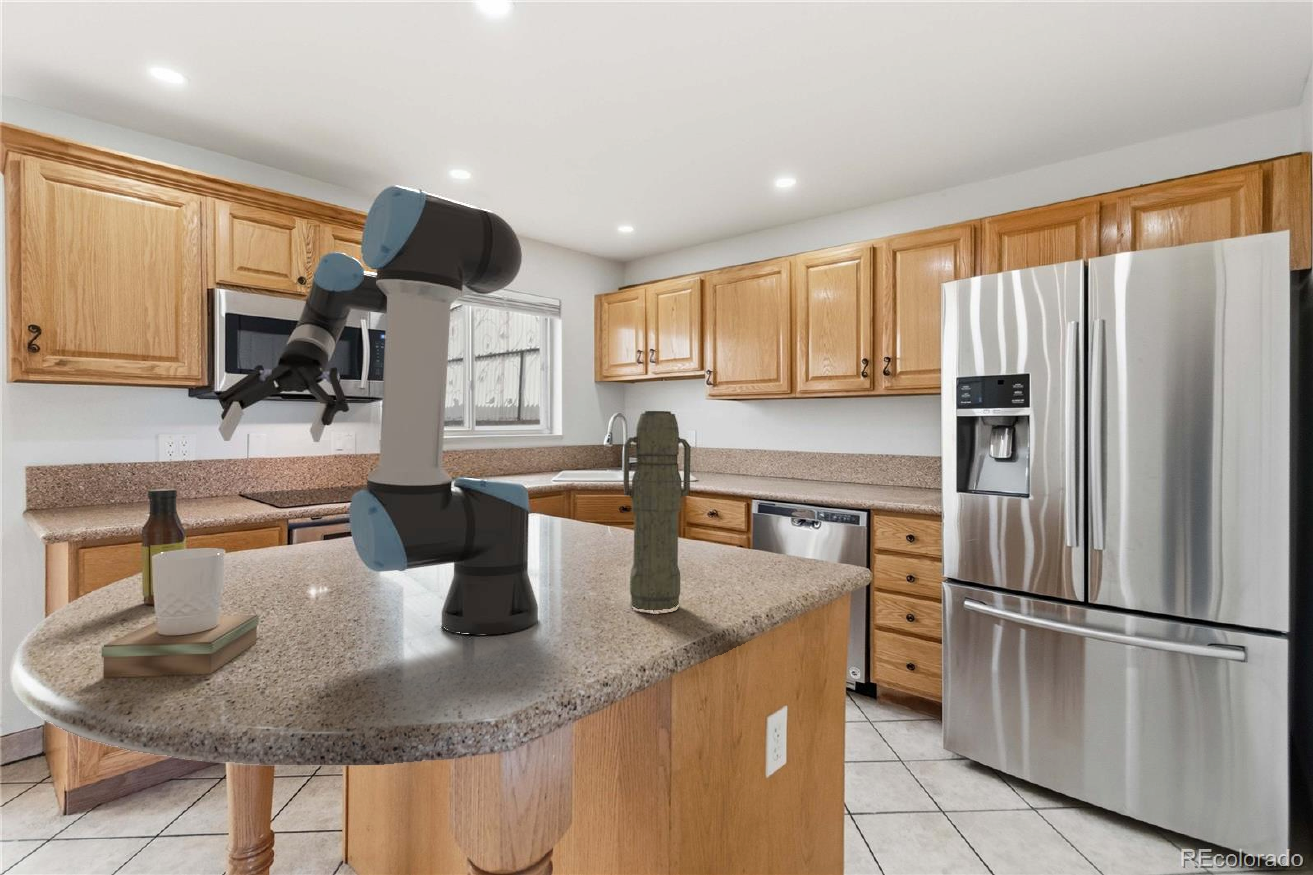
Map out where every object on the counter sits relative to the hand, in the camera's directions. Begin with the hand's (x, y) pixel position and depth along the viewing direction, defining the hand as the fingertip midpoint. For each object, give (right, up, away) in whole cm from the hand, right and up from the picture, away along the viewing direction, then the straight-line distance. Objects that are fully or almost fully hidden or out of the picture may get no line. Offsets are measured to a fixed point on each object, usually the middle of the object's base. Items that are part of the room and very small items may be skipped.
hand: (269, 435), depth 103 cm
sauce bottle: (-24, -29, +9) cm, 39 cm away
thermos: (+63, -31, +10) cm, 71 cm away
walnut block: (0, -30, -19) cm, 35 cm away
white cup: (+1, -26, -18) cm, 32 cm away
